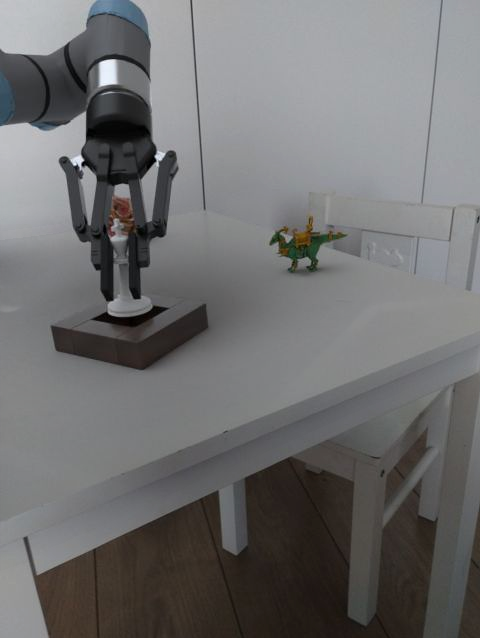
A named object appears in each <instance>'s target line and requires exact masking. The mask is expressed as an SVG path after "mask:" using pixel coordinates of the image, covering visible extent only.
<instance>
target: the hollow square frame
mask: <svg viewBox="0 0 480 638" xmlns="http://www.w3.org/2000/svg"><path fill="white" fill-rule="evenodd" d="M119 294H120V292H119V293H117V294H114V300H115V299H117V298H118V297H117V296H118V295H119ZM141 296H145V297H148V298H149V299H150V300H151V304H152V306H153V307H152V309H151V310H150V311H148V312H146V313H144V314H141V315H137V316H131V317H116V316H112V315H110V314H109V313H108V304H109V303H110V302H111V301H109V302H106V300H105V299H103V300H101V301H100V302H97V303H96V304H94V305H91V306H89V307H86V308H84V309H83V310H80V311H78V312H76V313H74V314H72V315H69V316H67V317H65V318H63V319H61V320H59V321H56V322H54V323H53V324H50V331H51V336H52V341H53V344H54V348H55V351H57V352H61V353H67V354H71V355H75V356H80V357H84V358H89V359H94V360H97V361H98V360H99V361H102V362H105V363H110V364H116V365H119V366H124V367H129V368H132V369H137V370H142V371H143V370H144V369H146V368H147V367H149V366H150V365H152V364H153V363H155V362H156V361H158V360H160V359H161V358H162V357H164V356H166V355H167V354H169V353H170V352H172V351H173V350H174V349H176V348H178V347H180V346H181V345H183V344H184V343H186V342H187V341H188V340H190V339H192V338H193V337H195V336H196V335H198V334H200V333H201V332H202V331H204V330H206V329H207V328H209V320H208V309H207V303H206V302H201V301H195V300H189V299H188V300H187V299H182V298H175V297H169V296H162V295H155V294H150V293H142V292H141ZM131 325H132V326H135V327H131Z"/></svg>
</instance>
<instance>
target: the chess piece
mask: <svg viewBox="0 0 480 638" xmlns="http://www.w3.org/2000/svg"><path fill="white" fill-rule="evenodd" d="M113 221H114V226H112V227H111V231H115V233H116V235H115V236H113V237H111V236H110V237H109V238H110V243H111V245H112V246H113V248H114V253H115V255H116V257H114V259H113V263H114V265H118V273H119V293H120V294H119V293H118V294H119V295H118V296H117V297H118V298H117V299H115V300H114V301H111V302H110V303H109V304H108V313H109V314H110V315H112V316H116V317H131V316H137V315H141V314H144V313H146V312H148V311H150V310H151V309H152V307H153V306H152V304H151V300H150V299H149V298H148V297H145V296H141V299H136V300H134V299H133V297H132V294H131V292H130V290H129V265H128V254H127V253H128V236H126V235H122V234H121V229H122V228H124V224H120V221H119V219H114V220H113Z"/></svg>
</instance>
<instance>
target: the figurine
mask: <svg viewBox="0 0 480 638" xmlns="http://www.w3.org/2000/svg"><path fill="white" fill-rule="evenodd" d="M307 222H308V223H306V224H305V229H306V230H305V231H302V232H299V233H296V232H298V228H293V229H291V233H292V235H293V236H292V238H291V239H290V240H289V241H288V242H287V240H286V238H285V236H284V235H285V234H288V231H289V229H290V227H287V225H283V227H282V228H280V229H279V230H277V229H275V230H274V234H273V235H272V236H271V239H270V241H269V244H268V246H270V247H272V246H274V245H275V244H277V243H278V249H277V251H278V252H275V254H276V255H277V257H279V258H282V257H284V258H287V259H290V260H291V264H290V265H291V266H290V267H288V268H287V269H286V270H287V271H288V272H289V273H290V274H293V273H295V272H296V269H298V266H299V260H304V259H305V258H308V259H309V260H310V265H306V266H305V267H306V269H308V271H309V272H311V273H312V272H314V271H317V270H318V268H317V266H318V264H319V261H320V260H319V259H318V258H317V255H318V252H319V251H320V248H321V246H322V245H323V244H327V243H331V242H333V241H336V240H341V239H343V238H346V237H348V235H349V234H347V233H343V232H342V231H337V233H336V234H334V233H335V231H334V230H332V229H329V230H328V233H326V232H323V233H321V232H322V230H320V231H313V230H314V227H313V222H314V216H313V215H312V214H311V215H309V216H308V221H307ZM281 233H284V235H282V234H281Z"/></svg>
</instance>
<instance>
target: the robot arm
mask: <svg viewBox="0 0 480 638" xmlns="http://www.w3.org/2000/svg"><path fill="white" fill-rule="evenodd" d="M148 24H149V23H148V20H147V17H146V15H145V13H144V11H142V9H141V7H139V6H138V5H137V4H136V3H135V2H134V1H132V0H95V1H94V2H93V3H92V5H91V6H90V8H89V10H88V14H87V18H86V23H85V30H84V31H82V32H80V33H79V34H78V35H76V36H75V37H73V38H72V39H71V40H69V41H68V42H67V43H66V44H65V45H62V46H61V47H60V48H58V49H56V50H55V51H53V52H51V53H50V54H47V55H45V54H22V53H11V52H9V53H8V52H5V51H3V50H2V49H1V48H0V127H4V126H10V125H19V124H29V125H30V126H31V127H36V128H38V129H39V131H42V132H43V131H44V132H50V131H54V130H56V129H57V128H59V127H61V126H67V125H68V124H70V123H71V122H72V121H73V120H75V118H77V117H79V116H81V115H82V114H83V113H85V142H84V145H82V148H81V149H80V154H78V155H76V156H74V157H72V158H70V157H68V156H66V155H63V156H60V157H59V158H58V164H59V166H60V168H61V170H62V172H63V174H64V177H65V179H66V186H67V187H66V188H67V194H68V201H69V202H68V203H69V209H70V216H71V223H72V228H73V231H74V233H75V234H76V236H77V238H78V240H79V242H81V243H90V262H91V265H92V266H93V268H94V270H95V272H98V271H100V273H99V274H100V277H99V279H100V286H99V289H100V293H101V294H102V297H103V298H104V300H106V302H109V301H114V296H115V281H114V280H115V277H114V275H115V272H114V271H115V269H114V268H115V264H114V263H113V259H114V258H115V255H114V253H115V250H114V248H113V246H112V245H111V243H110V238H111V237H110V235H108V228H109V220H110V212H111V204H112V196H113V195H115V191H116V186H118V185H127V186H128V189H129V198H130V199H131V204H132V211H133V217H134V226H135V229H136V233H135V232H130V233H128V249H127V253H128V254H127V256H128V267H129V290H130V292H131V294H132V297H133V299H134V300H136V299H141V293H142V285H141V284H142V281H141V269H143V268H144V269H145V268H149V267H150V265H151V252H150V251H151V250H150V249H151V246H150V245H151V244H150V243H151V241H152V240H153V239H154V238H159V239H160V238H164V237H165V236H166V235H167V232H168V231H167V229H168V221H169V213H170V202H171V194H172V185H173V181H174V179H175V177H176V175H177V174H178V172H179V169H180V168H179V161H178V155H177V152H176V151H175V150H171V149H170V150H167V151H166V152H164V151H161V150H158V148H157V144H156V143H154V131H153V129H154V127H153V115H152V114H153V103H152V99H153V98H152V83H151V82H152V79H151V50H152V43H151V38H150V32H149V25H148ZM154 165H156V166H155V167H156V170H157V176H156V183H155V184H156V185H155V192H154V199H153V202H154V203H153V207H152V216H151V220H149V221H148V215H147V209H146V203H145V197H144V189H143V181H142V179H144V177H145V176H146V175H147V173H148V172H149V171H150V170H151V168H152V167H153V166H154ZM86 167H87V168H88V169H89V170H90V172H92V173H93V175H94V176H95V178H96V184H95V190H94V197H93V206H92V211H91V212H92V213H91V221H90V224H89V220H88V211H87V206H86V199H85V191H84V186H83V183H82V181H81V180H83V179H84V175H85V168H86Z"/></svg>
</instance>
